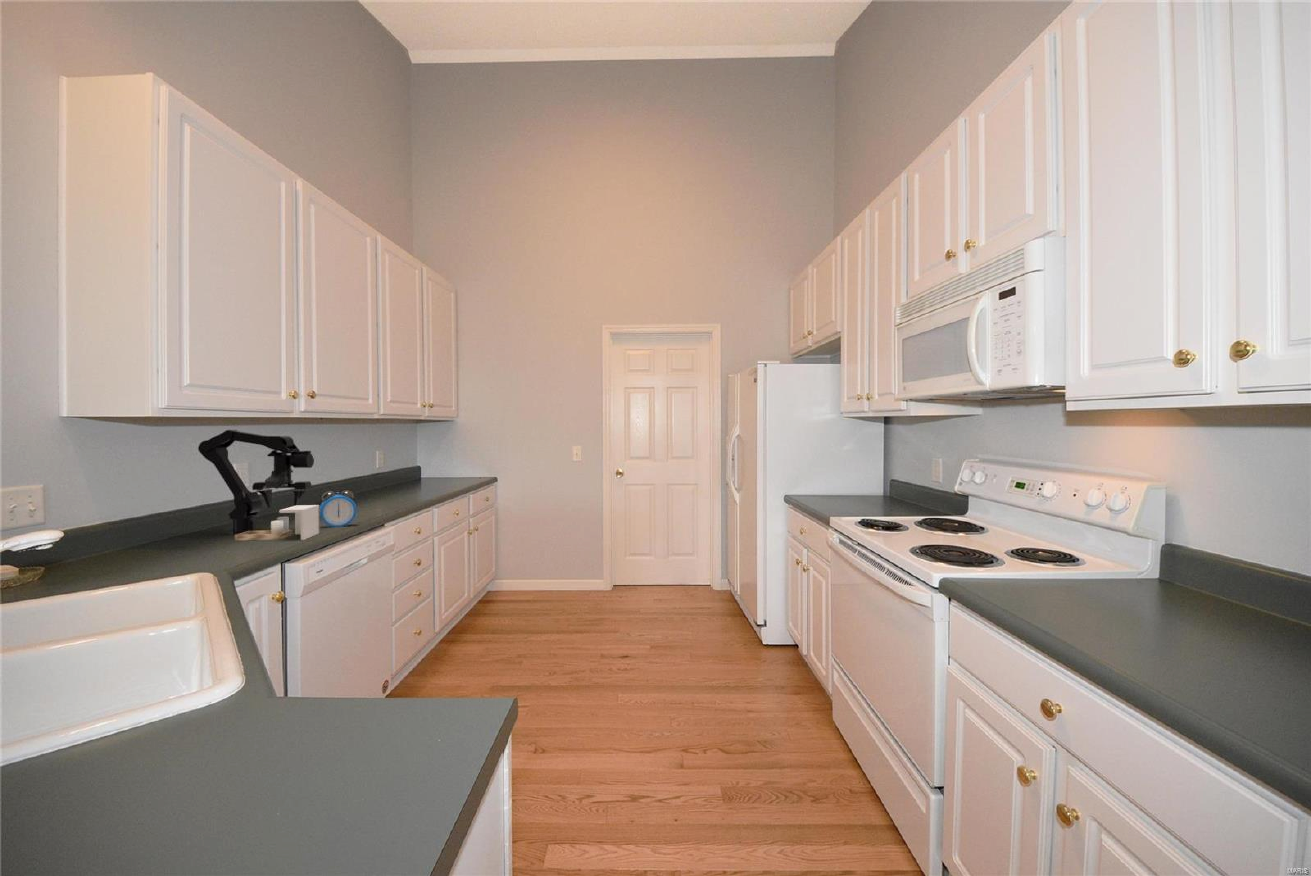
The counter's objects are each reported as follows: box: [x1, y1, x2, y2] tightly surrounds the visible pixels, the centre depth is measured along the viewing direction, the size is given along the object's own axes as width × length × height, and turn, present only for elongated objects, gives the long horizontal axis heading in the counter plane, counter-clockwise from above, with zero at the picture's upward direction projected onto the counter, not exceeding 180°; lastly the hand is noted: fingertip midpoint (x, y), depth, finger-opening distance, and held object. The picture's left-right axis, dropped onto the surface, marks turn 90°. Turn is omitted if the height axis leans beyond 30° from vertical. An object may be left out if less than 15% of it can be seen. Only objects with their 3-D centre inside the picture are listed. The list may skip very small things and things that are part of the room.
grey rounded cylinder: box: [276, 516, 290, 530], centre depth 210 cm, size 4×4×6 cm
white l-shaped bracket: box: [279, 504, 320, 541], centre depth 200 cm, size 8×12×12 cm, turn 10°
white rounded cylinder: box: [270, 519, 284, 534], centre depth 198 cm, size 4×4×6 cm
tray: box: [234, 529, 294, 541], centre depth 198 cm, size 15×9×2 cm, turn 100°
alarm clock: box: [319, 490, 358, 528], centre depth 223 cm, size 13×6×15 cm, turn 126°
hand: (282, 507), depth 210 cm, fingers open, 9 cm apart
